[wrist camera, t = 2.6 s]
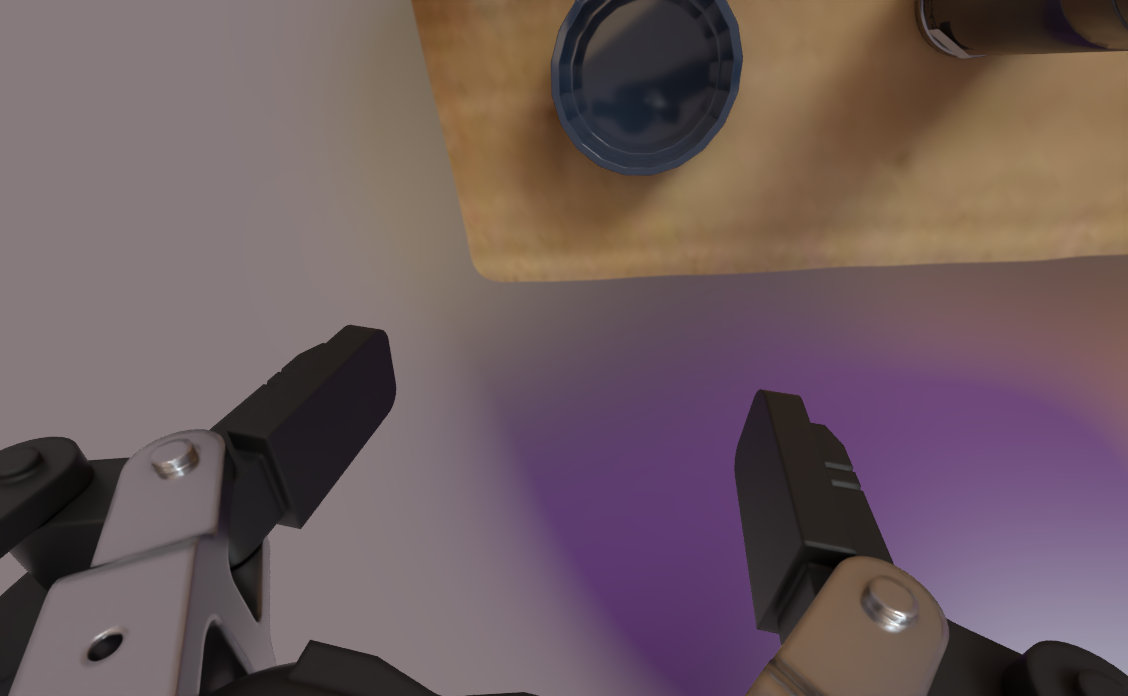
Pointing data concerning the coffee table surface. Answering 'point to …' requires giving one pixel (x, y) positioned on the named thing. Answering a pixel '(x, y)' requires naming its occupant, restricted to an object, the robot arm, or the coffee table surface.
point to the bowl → (645, 80)
